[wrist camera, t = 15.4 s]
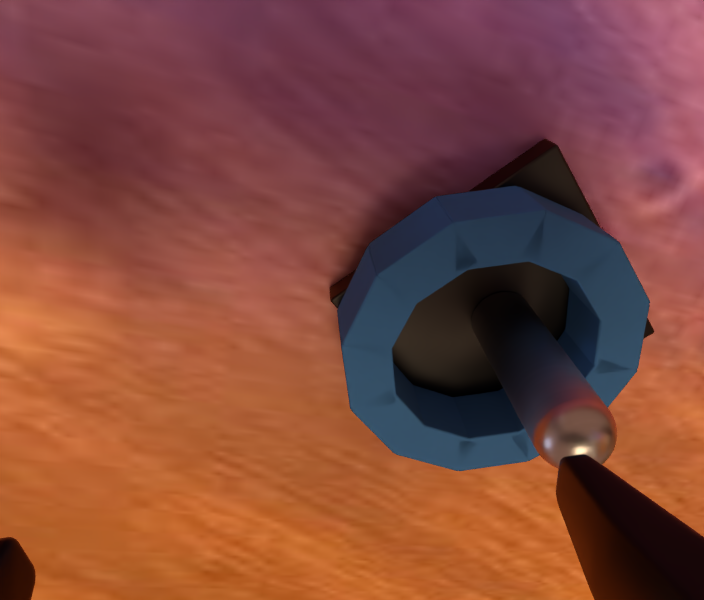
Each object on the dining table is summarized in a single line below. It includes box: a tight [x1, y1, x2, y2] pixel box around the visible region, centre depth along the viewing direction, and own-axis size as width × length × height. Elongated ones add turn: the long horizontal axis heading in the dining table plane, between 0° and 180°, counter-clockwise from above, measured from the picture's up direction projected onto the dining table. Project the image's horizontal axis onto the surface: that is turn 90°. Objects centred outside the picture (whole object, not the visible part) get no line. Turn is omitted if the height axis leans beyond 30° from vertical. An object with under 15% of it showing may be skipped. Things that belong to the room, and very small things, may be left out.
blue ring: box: [337, 186, 650, 471], centre depth 19 cm, size 10×10×2 cm
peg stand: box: [330, 139, 654, 469], centre depth 17 cm, size 9×9×8 cm
